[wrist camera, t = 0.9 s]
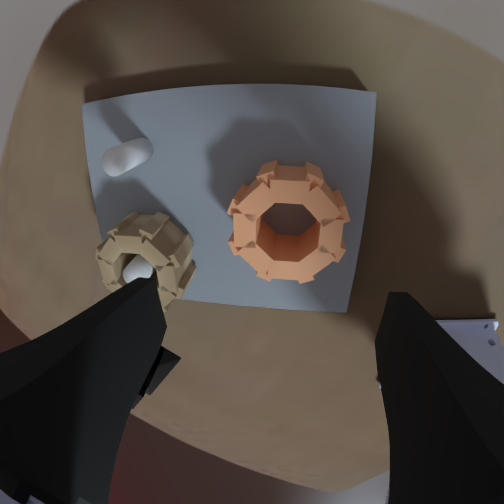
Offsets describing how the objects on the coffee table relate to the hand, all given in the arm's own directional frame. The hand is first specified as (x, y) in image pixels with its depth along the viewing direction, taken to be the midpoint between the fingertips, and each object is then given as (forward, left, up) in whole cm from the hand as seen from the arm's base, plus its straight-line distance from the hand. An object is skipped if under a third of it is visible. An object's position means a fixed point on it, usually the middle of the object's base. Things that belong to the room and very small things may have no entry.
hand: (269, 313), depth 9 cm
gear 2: (0, 0, -8) cm, 8 cm away
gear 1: (+8, +3, -8) cm, 11 cm away
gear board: (+4, 0, -9) cm, 10 cm away
